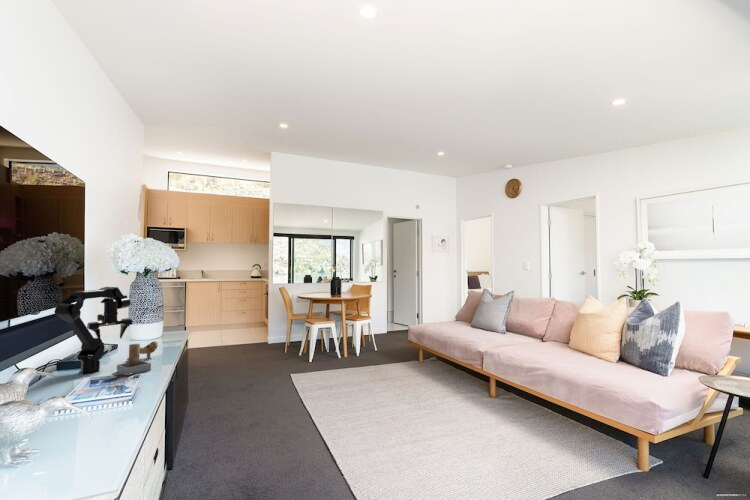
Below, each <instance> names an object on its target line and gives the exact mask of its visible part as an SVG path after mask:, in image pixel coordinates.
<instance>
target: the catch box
mask: <svg viewBox="0 0 750 500" xmlns="http://www.w3.org/2000/svg"><path fill="white" fill-rule="evenodd" d="M128 367H129V361H128V362H124V363H120V364H119V363H118V364H116V373H118V374H121V375H123V374H130V373H137V374H141V373H145V372H146V373H147V372H149V371H151V370H152V363H151V362H148V361H145V360H142V359H139V366H134V367H129V368H128ZM140 372H141V373H140Z"/></svg>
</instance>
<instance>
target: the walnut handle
mask: <svg viewBox="0 0 750 500" xmlns="http://www.w3.org/2000/svg"><path fill="white" fill-rule="evenodd" d="M140 346H141V345H140V343H131V344H129V347H128V358H129V360H128V362H129V367H134V366H139V360H140V355H141V354H140V348H141V347H140ZM129 367H128V368H129Z"/></svg>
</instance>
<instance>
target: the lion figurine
mask: <svg viewBox="0 0 750 500" xmlns="http://www.w3.org/2000/svg"><path fill="white" fill-rule="evenodd" d="M158 347H159V345H158V342H157V341H151V342H150V343H149V344H147V345H146V346H144V347H140V355H146V358H147V357H148V358H147V359H149V358H151V359H152V357H151V354H152V353H153V354H154V352H155V351H156V350H157V349H158ZM126 361H129V357H128V358H127V359H126Z"/></svg>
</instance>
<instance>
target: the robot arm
mask: <svg viewBox="0 0 750 500" xmlns="http://www.w3.org/2000/svg"><path fill="white" fill-rule="evenodd" d="M96 298H103V299H102V300H100V304H103V314H97V317H96V319H97V320H96V321H90V322H88V323H87V324H85V323H84V321H83V320H82V318H81V315H82V314H81V309H82V308H83V306H84V302H85V300H88V299H96ZM75 301H76V302H75ZM131 302H132V301H131V300H130V298H129V297H128V295H123V292H122V291H121V290H120V288H119V287H118V286H104V287H100V288H99V289H93V290H83V291H73V292H72V293H71V294H70V295H69V296H68V297H66V298H64V299H63V300H61V301H60V303H59V304H57V305H56V307H55V309H54V314H55V315H56V316H57V317H58V319H60V320H62V321H64V322H66V323H67V324H68V325H69V327H70V328H71V330H72V332H73V333H74V334H75V336H76V337H77V339H78V340H79V341H80V343H81V345H80V349H81V351H80V352H79V353H78V355H77V356H76V358H77V360H78V361H80V370H79V373H81V374H83V375H86V374H91V373H97V372H100V371H101V370H100V368H101V361H100V359H102V358H103V355H104V352H105V343H104V342H103V340H102V338H101V329H100V327H109V326H116V325H117V326H118V325H120V330H119V339H122V337H123V336H124V334H125V332H126V330H127V329H128V328H129V327H130V326H131V325H133V319H131V318H129V317H126V318H121V320H118V314H119V312H118V310H120V309H125V308H129V307H130V305H132V303H131ZM86 325H87V326H86ZM90 331H93V332H94V333H95V336H96V337H95V338H94V336H93V335H92V333H91V332H90Z"/></svg>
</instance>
